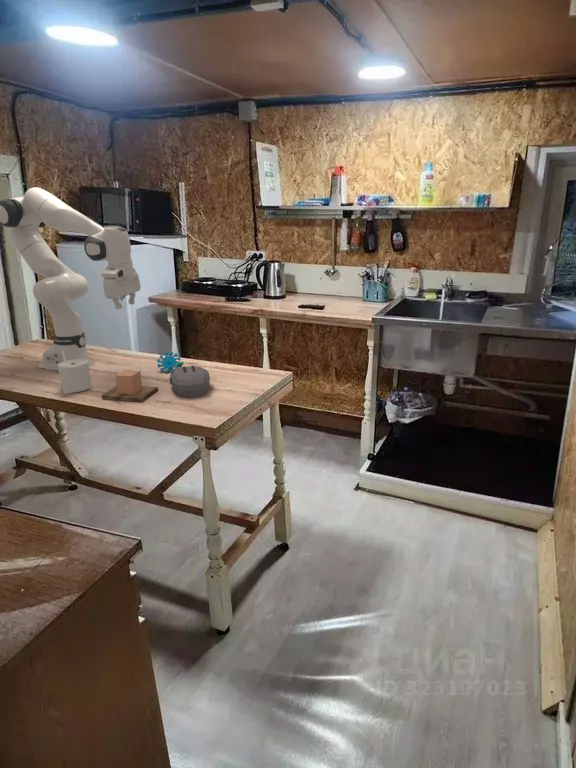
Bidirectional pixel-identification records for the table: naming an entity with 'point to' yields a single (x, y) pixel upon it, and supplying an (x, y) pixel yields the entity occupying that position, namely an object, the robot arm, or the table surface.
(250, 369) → the table surface
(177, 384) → the small grey backpack
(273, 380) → the table surface
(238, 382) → the table surface
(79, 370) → the toilet tissue
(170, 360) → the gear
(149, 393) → the stub plate
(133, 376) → the salmon orange block
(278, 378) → the table surface
